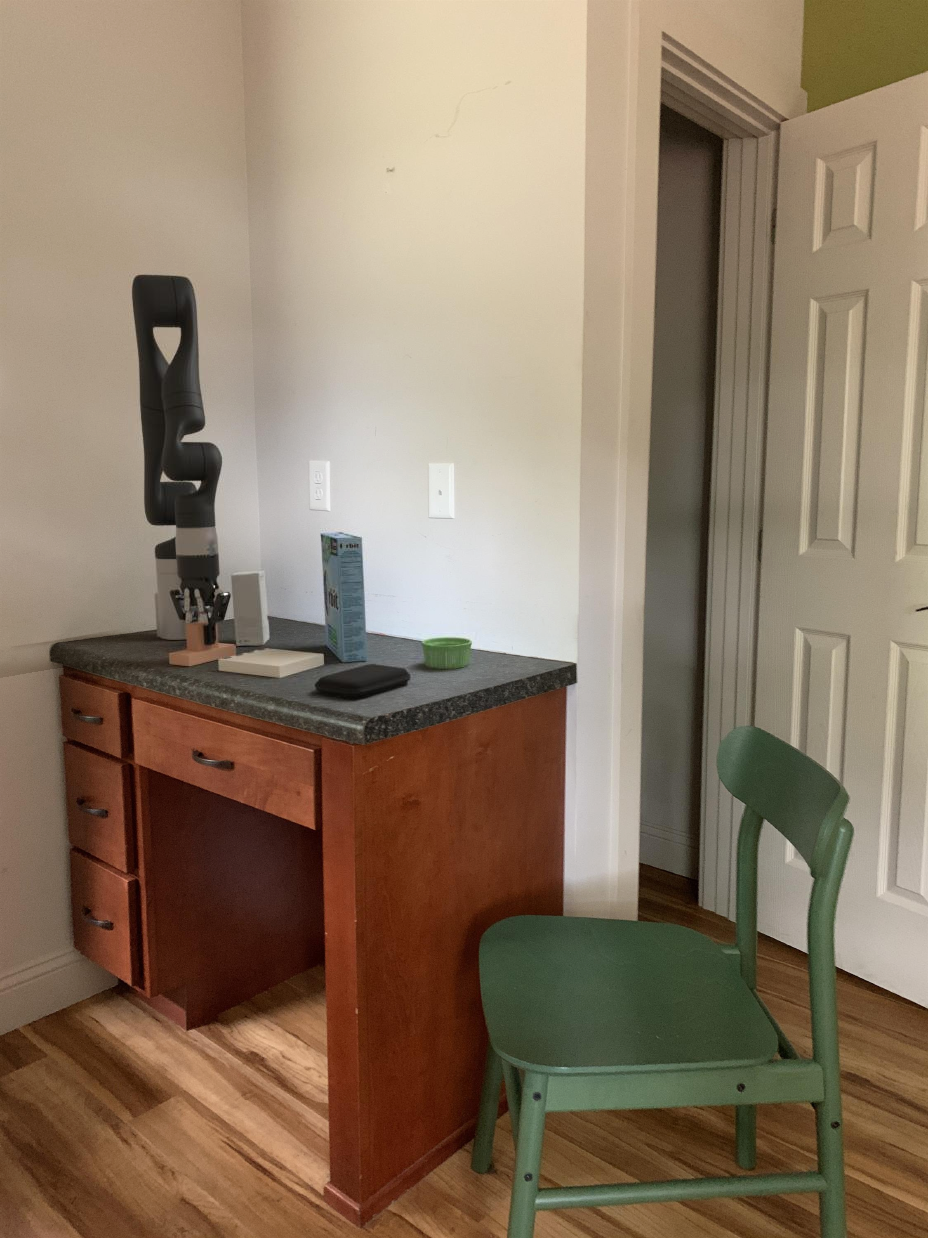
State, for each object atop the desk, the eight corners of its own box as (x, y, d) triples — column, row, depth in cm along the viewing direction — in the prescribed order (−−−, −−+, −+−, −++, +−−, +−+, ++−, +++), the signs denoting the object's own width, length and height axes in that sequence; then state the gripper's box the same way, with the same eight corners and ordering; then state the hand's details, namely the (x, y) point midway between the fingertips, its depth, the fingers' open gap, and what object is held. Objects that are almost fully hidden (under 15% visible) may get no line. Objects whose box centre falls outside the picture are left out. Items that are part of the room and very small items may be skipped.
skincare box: (264, 646, 184) (260, 573, 182) (234, 646, 183) (230, 573, 181) (269, 639, 192) (266, 569, 190) (241, 639, 192) (237, 569, 189)
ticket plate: (218, 670, 160) (218, 658, 160) (264, 658, 171) (264, 647, 170) (279, 677, 154) (279, 665, 153) (323, 664, 164) (323, 653, 164)
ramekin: (480, 662, 165) (480, 639, 164) (456, 672, 157) (456, 647, 156) (438, 658, 169) (438, 635, 168) (412, 667, 161) (412, 643, 160)
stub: (169, 663, 166) (167, 626, 165) (216, 652, 177) (214, 617, 176) (189, 666, 164) (187, 628, 163) (236, 654, 174) (234, 618, 173)
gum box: (367, 661, 167) (363, 536, 163) (340, 663, 165) (335, 537, 162) (348, 643, 185) (345, 531, 182) (324, 645, 184) (319, 532, 180)
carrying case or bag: (366, 677, 154) (304, 695, 142) (365, 660, 154) (303, 676, 142) (415, 685, 148) (355, 704, 136) (415, 666, 148) (354, 684, 136)
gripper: (154, 552, 167) (160, 644, 170) (210, 554, 161) (216, 650, 163) (185, 549, 174) (190, 638, 176) (240, 551, 167) (245, 643, 170)
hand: (202, 643), depth 170 cm, fingers closed on stub, 3 cm apart
